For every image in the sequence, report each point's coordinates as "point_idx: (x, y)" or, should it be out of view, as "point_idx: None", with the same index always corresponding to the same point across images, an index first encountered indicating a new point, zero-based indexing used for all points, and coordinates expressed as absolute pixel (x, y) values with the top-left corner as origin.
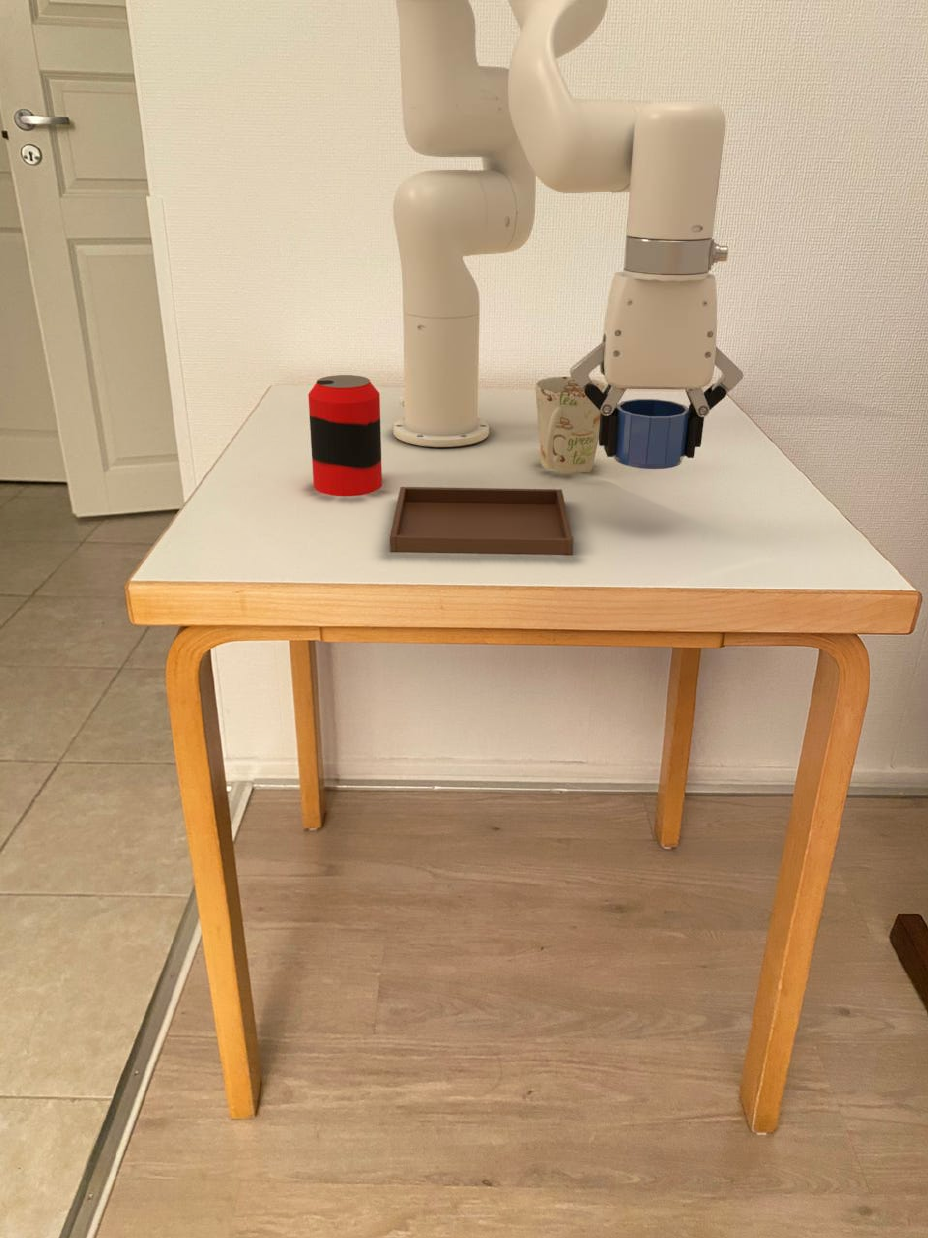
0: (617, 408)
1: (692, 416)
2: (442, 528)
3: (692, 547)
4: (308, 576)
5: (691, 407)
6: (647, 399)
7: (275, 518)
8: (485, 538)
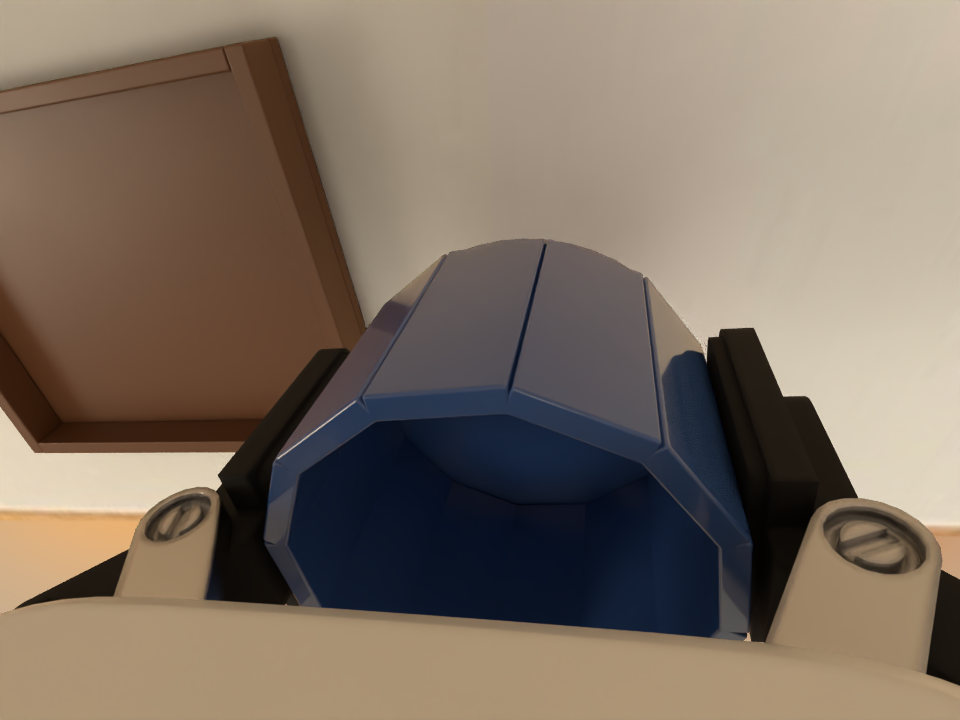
0: (289, 587)
1: (753, 625)
2: (70, 315)
3: (704, 329)
4: (13, 492)
5: (773, 615)
6: (449, 407)
7: None
8: (199, 451)
